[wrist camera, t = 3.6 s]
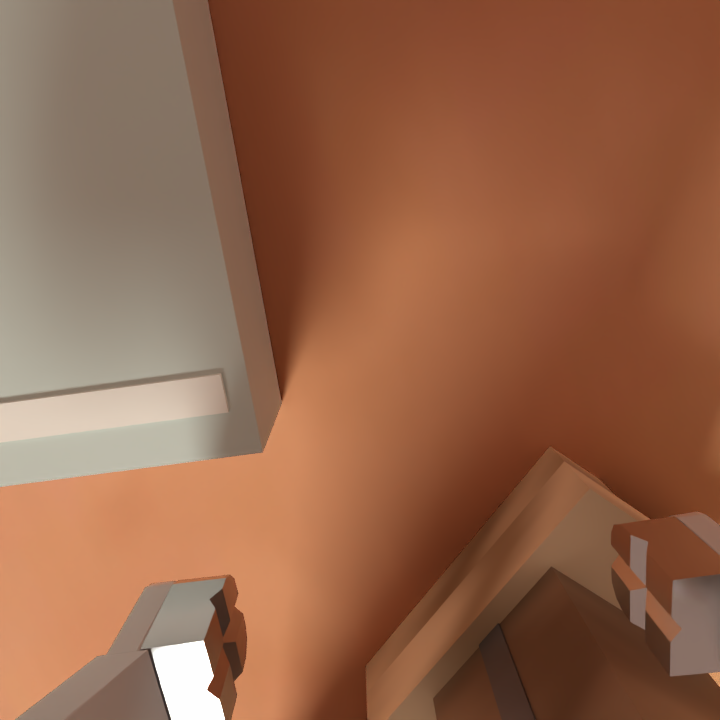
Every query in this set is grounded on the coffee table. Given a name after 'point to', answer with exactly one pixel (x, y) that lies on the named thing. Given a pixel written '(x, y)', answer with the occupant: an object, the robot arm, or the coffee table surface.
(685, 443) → the coffee table surface
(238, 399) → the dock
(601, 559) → the pallet
